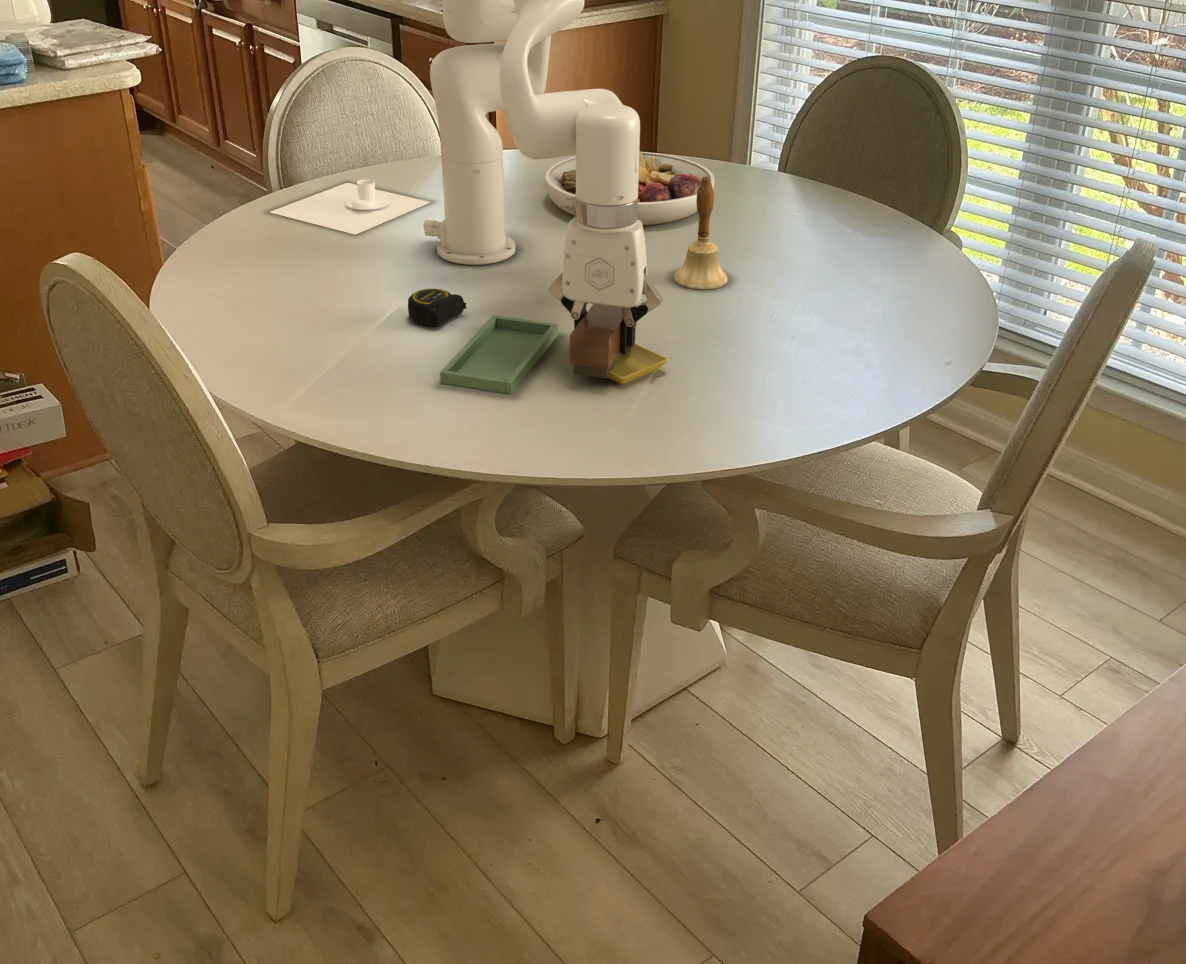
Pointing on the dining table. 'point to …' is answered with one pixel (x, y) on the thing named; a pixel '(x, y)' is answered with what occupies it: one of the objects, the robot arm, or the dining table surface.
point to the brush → (596, 341)
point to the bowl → (643, 186)
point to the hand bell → (702, 249)
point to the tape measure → (434, 306)
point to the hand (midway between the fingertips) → (604, 346)
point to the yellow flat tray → (636, 364)
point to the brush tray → (500, 354)
